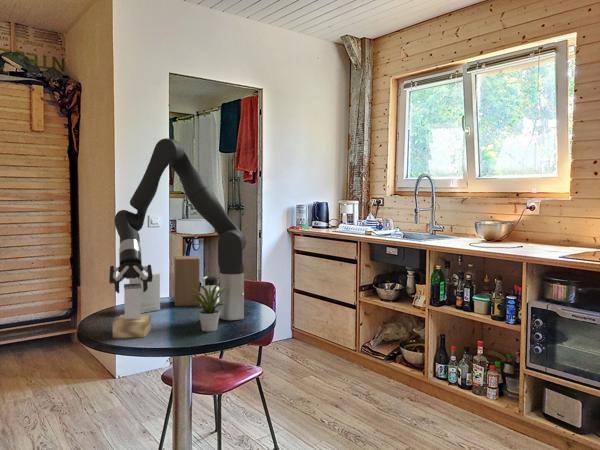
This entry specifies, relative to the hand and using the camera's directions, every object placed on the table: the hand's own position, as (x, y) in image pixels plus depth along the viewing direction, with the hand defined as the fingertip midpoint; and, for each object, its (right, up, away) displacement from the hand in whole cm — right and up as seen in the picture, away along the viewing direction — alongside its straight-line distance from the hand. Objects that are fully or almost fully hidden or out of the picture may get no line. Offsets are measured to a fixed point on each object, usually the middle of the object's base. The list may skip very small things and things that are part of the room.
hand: (131, 291), depth 161 cm
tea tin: (+2, -8, -5) cm, 10 cm away
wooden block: (+9, -11, +41) cm, 43 cm away
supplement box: (-4, -12, +27) cm, 30 cm away
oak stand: (+2, -13, -5) cm, 14 cm away
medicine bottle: (+19, -11, +39) cm, 45 cm away
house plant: (+28, -13, +2) cm, 31 cm away
